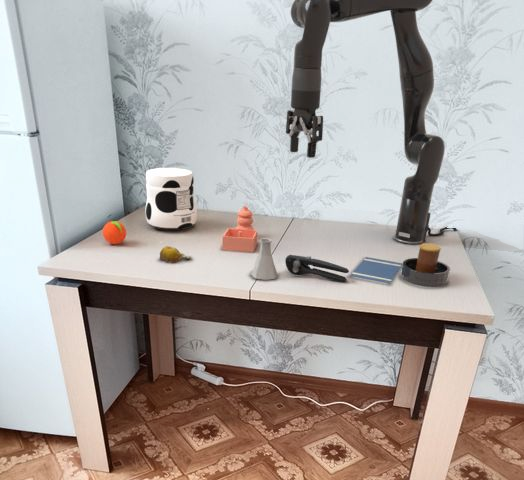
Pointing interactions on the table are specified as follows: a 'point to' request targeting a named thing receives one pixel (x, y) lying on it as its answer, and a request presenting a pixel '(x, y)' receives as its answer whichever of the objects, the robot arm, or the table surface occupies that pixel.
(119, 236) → the clementine
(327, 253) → the table surface
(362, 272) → the tea towel
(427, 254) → the chocolate tin
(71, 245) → the table surface
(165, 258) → the fruit
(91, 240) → the table surface
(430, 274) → the pan
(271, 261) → the flask
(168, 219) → the milk container
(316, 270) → the can opener
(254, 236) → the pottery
